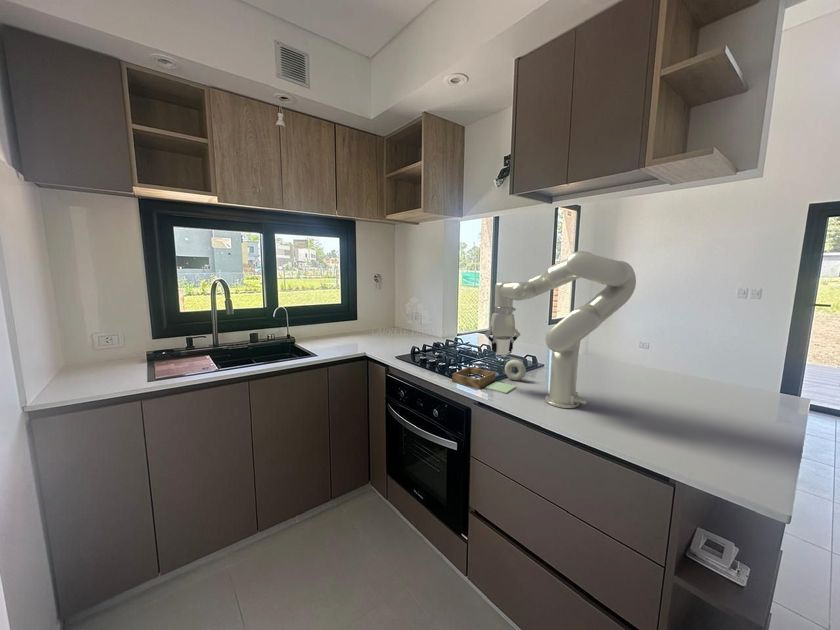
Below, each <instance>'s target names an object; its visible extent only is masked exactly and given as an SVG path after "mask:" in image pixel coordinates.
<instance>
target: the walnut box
mask: <svg viewBox="0 0 840 630" xmlns="http://www.w3.org/2000/svg"><path fill="white" fill-rule="evenodd" d="M468 374H479V375H483V376H485V377H483V378H474V377H472V376H471V377H470V376H466V375H468ZM451 379H452V380H451V382H452V383H455V384H459V385H463V386H466V387H470V388H472V389H473V388H474V389H478V390H480V389H483V388H485V387H487V386H489V385H490V384H492V383H493V382H492V381H493V380H494V379H495V380H496V372H495V371H490V370H487V369H481V368H477V367H471V366H467V367H465V368H463V369H460V370H457V371H455V372H454V373H452V376H451ZM491 382H492V383H491Z"/></svg>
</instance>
